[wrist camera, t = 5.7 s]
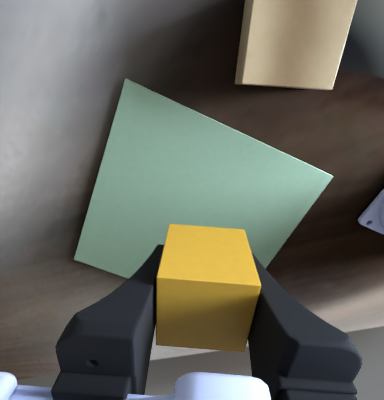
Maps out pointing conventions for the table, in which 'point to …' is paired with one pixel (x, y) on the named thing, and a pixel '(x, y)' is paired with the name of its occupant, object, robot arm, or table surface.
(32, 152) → the table surface
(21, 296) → the table surface
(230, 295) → the mustard cube
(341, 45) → the birch block
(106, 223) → the sage mat
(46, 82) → the table surface
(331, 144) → the table surface
